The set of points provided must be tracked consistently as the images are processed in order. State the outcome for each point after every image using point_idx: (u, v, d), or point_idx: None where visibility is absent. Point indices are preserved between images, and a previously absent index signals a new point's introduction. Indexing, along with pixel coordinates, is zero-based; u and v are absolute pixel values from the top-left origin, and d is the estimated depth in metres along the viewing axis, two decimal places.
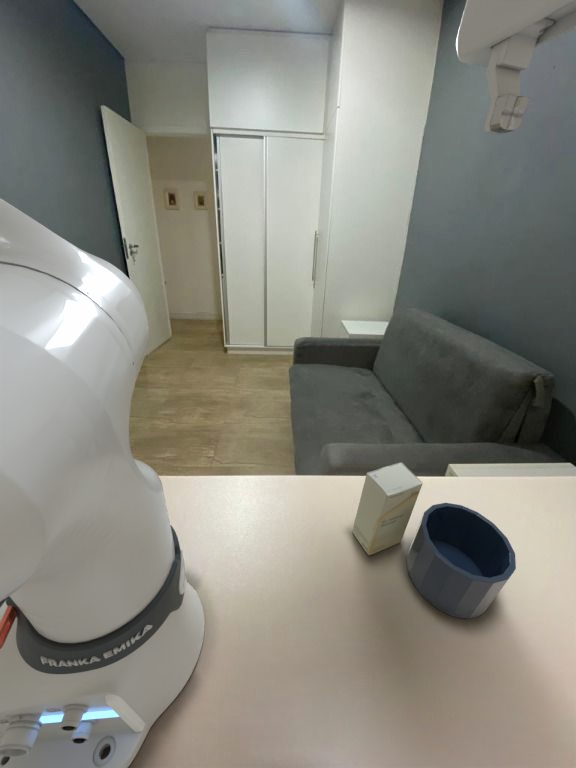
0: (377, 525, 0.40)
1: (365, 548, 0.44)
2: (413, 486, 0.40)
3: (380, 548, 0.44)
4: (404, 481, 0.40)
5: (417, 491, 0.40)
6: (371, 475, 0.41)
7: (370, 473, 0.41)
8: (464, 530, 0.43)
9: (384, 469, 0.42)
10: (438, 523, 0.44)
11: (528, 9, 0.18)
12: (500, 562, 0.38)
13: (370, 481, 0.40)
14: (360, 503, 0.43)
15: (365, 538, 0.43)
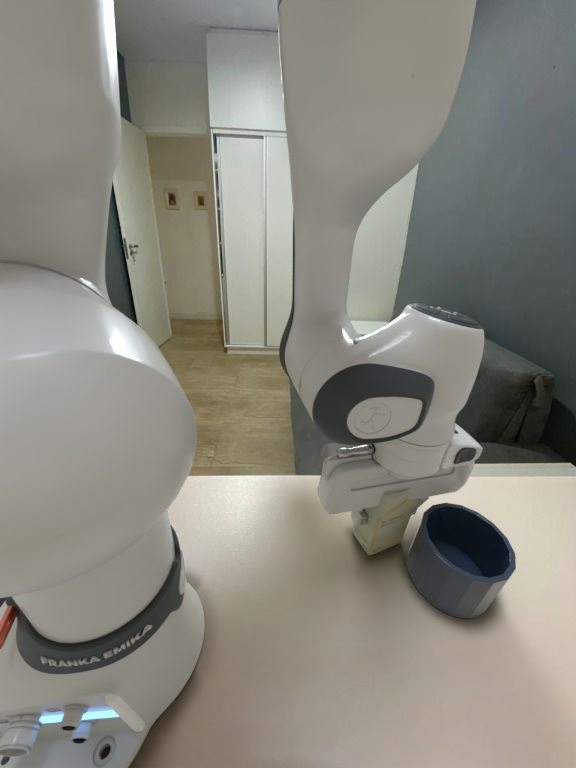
0: (377, 525, 0.40)
1: (365, 548, 0.44)
2: None
3: (380, 548, 0.44)
4: None
5: None
6: None
7: None
8: (464, 530, 0.43)
9: None
10: (438, 523, 0.44)
11: (373, 505, 0.39)
12: (500, 562, 0.38)
13: None
14: None
15: (365, 538, 0.43)
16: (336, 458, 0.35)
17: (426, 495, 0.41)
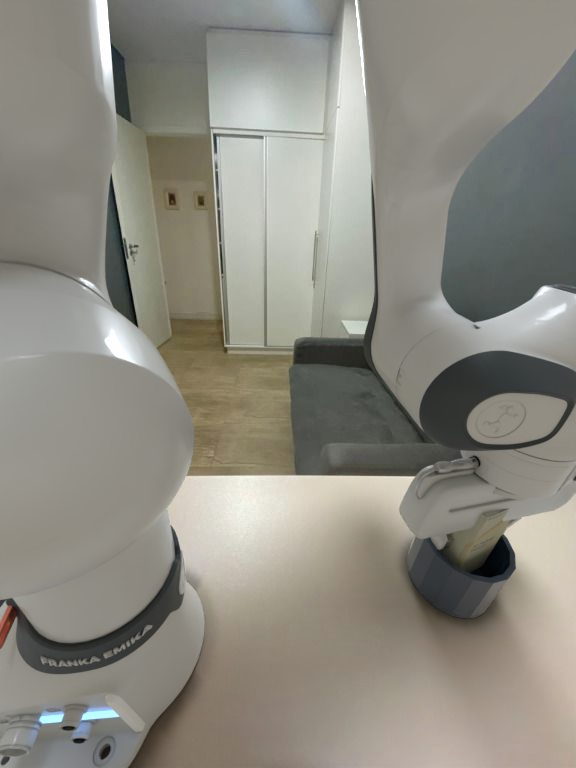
0: (467, 550, 0.35)
1: None
2: None
3: None
4: None
5: None
6: None
7: None
8: None
9: None
10: None
11: (467, 528, 0.33)
12: (500, 562, 0.38)
13: None
14: None
15: None
16: (435, 473, 0.30)
17: (524, 515, 0.35)
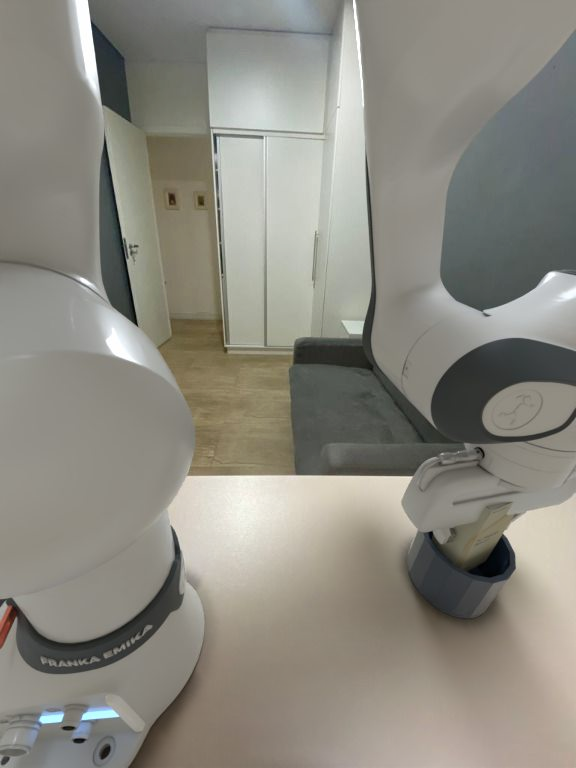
0: (470, 544, 0.34)
1: None
2: None
3: (466, 569, 0.37)
4: None
5: None
6: None
7: None
8: None
9: None
10: None
11: (471, 522, 0.33)
12: (500, 562, 0.38)
13: None
14: None
15: (448, 558, 0.37)
16: (438, 465, 0.29)
17: (529, 509, 0.34)
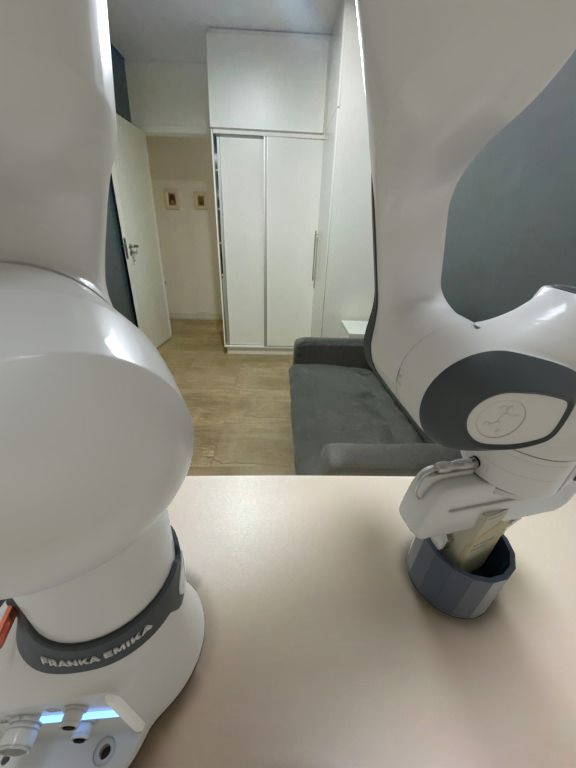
0: (467, 550, 0.35)
1: None
2: None
3: None
4: None
5: None
6: None
7: None
8: None
9: None
10: None
11: (467, 528, 0.33)
12: (500, 562, 0.38)
13: None
14: None
15: None
16: (435, 473, 0.30)
17: (524, 515, 0.35)
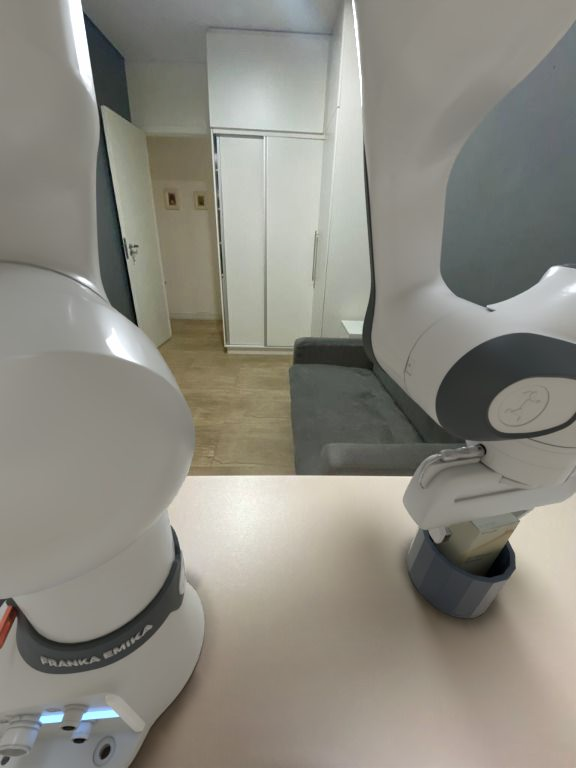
0: (461, 561, 0.36)
1: None
2: (509, 523, 0.35)
3: None
4: (497, 516, 0.35)
5: (512, 529, 0.35)
6: None
7: None
8: None
9: None
10: None
11: (472, 519, 0.32)
12: (500, 562, 0.38)
13: None
14: None
15: None
16: (439, 462, 0.29)
17: (530, 506, 0.34)
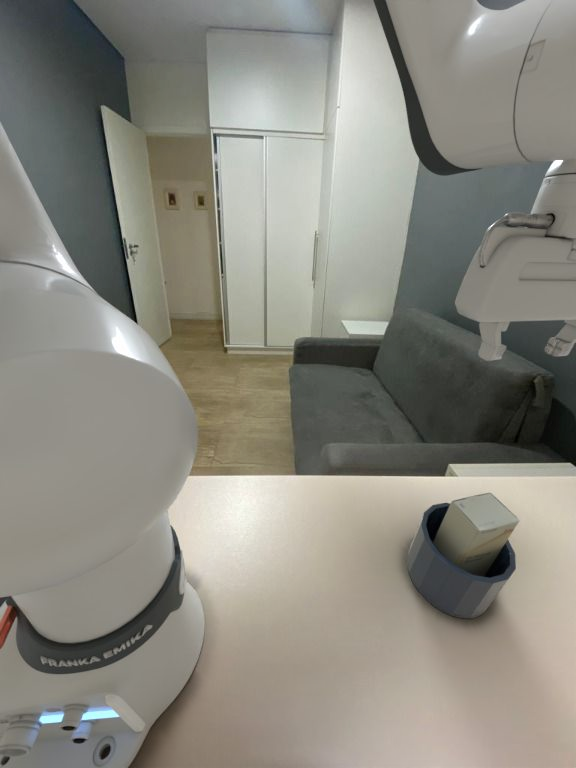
0: (461, 560, 0.36)
1: None
2: (508, 522, 0.35)
3: None
4: (497, 516, 0.35)
5: (512, 528, 0.36)
6: (457, 504, 0.37)
7: (456, 501, 0.37)
8: None
9: (471, 498, 0.37)
10: (438, 523, 0.44)
11: (532, 317, 0.30)
12: (500, 562, 0.38)
13: (456, 511, 0.36)
14: (439, 532, 0.39)
15: None
16: None
17: None
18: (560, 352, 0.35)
